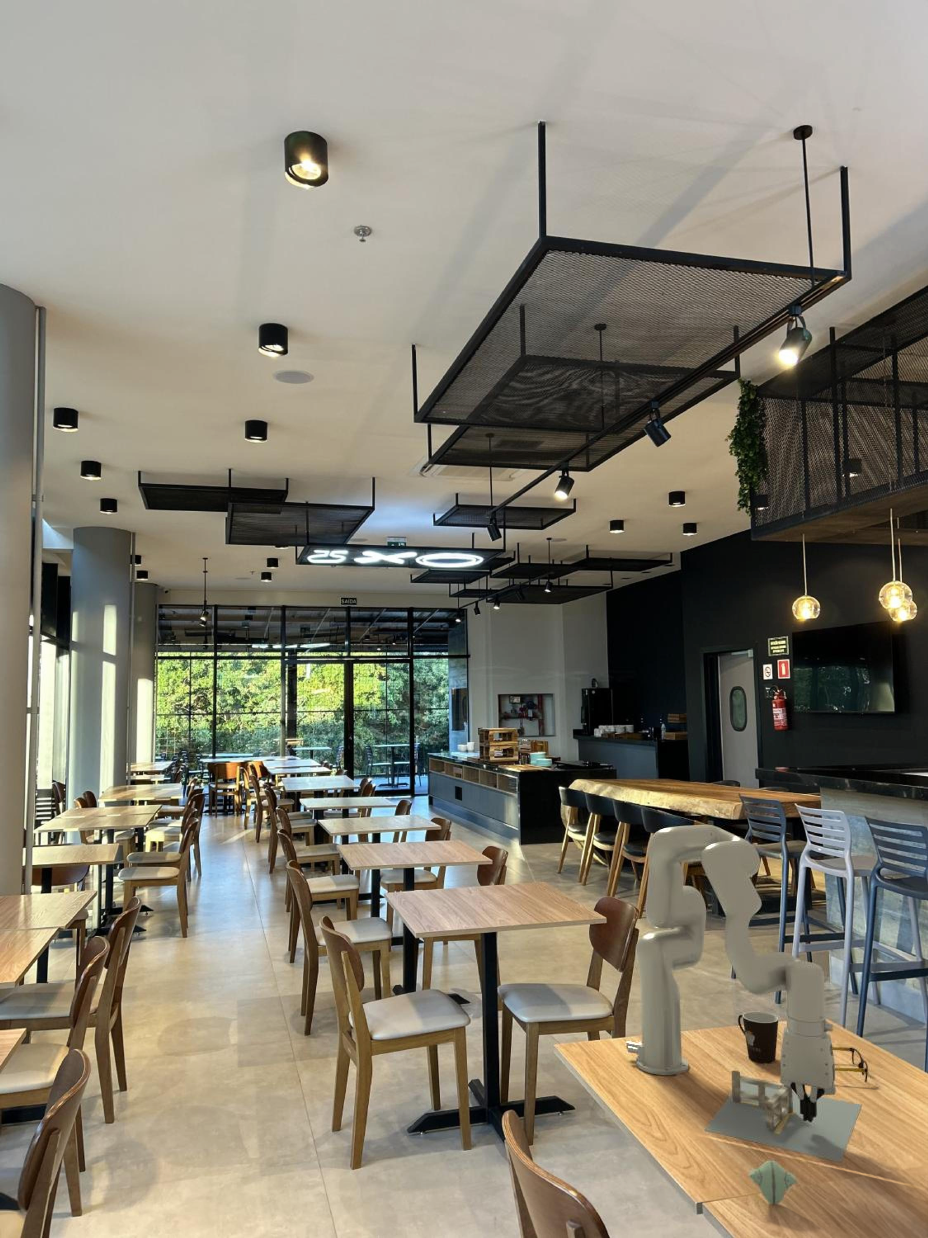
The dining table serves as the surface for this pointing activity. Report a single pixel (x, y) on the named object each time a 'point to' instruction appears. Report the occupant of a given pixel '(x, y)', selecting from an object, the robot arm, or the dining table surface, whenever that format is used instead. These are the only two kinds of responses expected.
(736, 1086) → the fence section
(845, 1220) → the dining table surface
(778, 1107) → the fence gate
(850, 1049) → the eyeglasses
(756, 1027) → the coffee mug
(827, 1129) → the card
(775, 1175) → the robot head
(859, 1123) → the dining table surface
